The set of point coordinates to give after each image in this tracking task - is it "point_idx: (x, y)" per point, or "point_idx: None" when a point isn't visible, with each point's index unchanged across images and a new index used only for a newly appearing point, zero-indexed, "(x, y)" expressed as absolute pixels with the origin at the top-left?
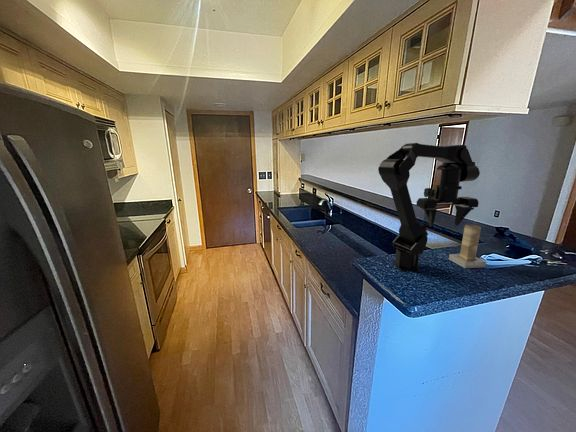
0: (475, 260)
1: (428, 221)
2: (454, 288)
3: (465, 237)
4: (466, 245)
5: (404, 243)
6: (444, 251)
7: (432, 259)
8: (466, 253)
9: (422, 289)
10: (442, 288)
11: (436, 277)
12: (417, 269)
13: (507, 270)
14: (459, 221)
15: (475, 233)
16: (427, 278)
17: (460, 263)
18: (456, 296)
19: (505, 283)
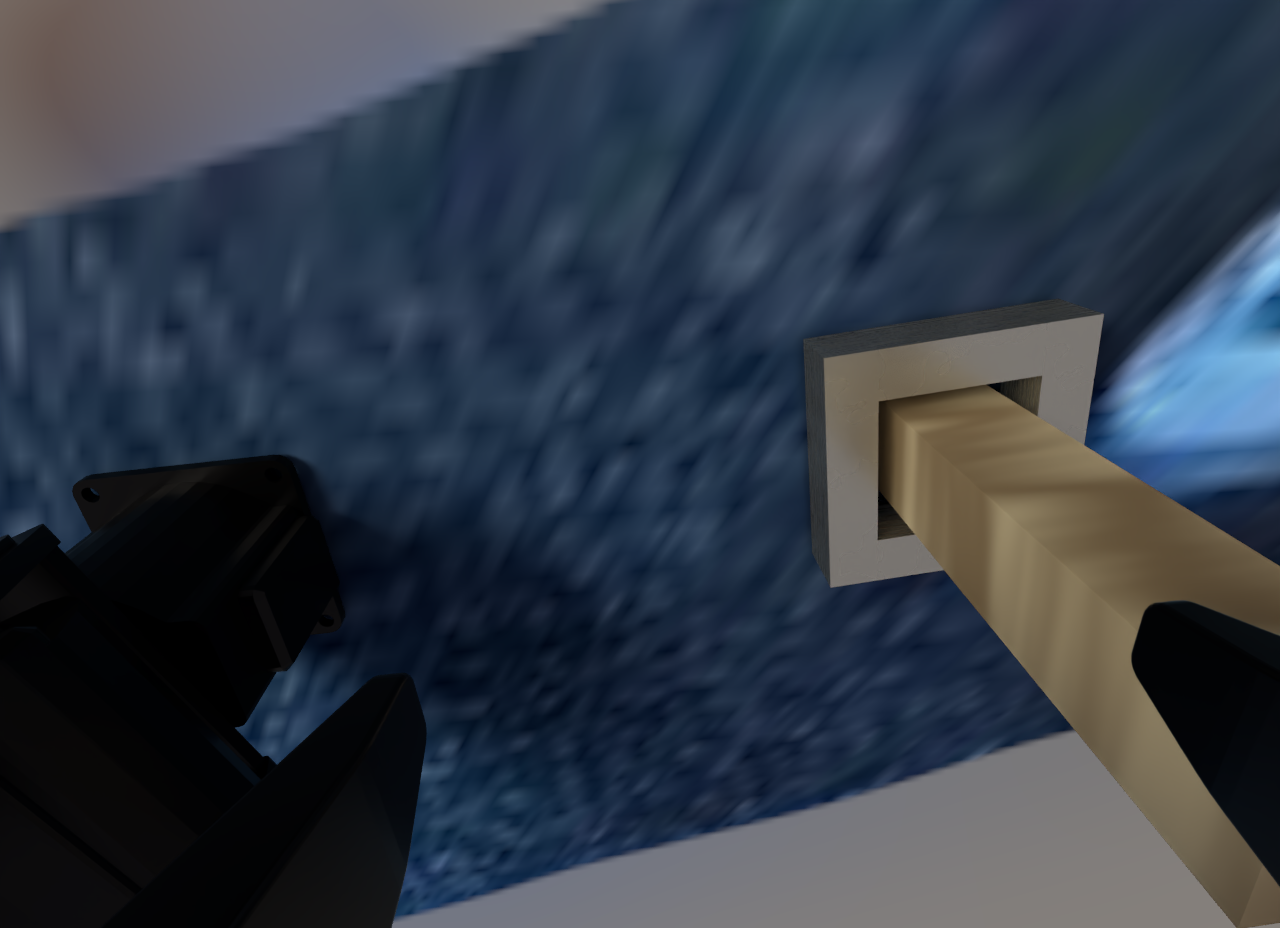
0: None
1: (270, 781)
2: (518, 826)
3: (1068, 622)
4: (989, 586)
5: (30, 562)
6: (955, 6)
7: (606, 338)
8: (933, 543)
9: None
10: (435, 833)
11: (459, 711)
12: (322, 630)
13: None
14: (1257, 832)
15: None
16: None
17: (816, 515)
18: (481, 893)
19: (927, 743)
